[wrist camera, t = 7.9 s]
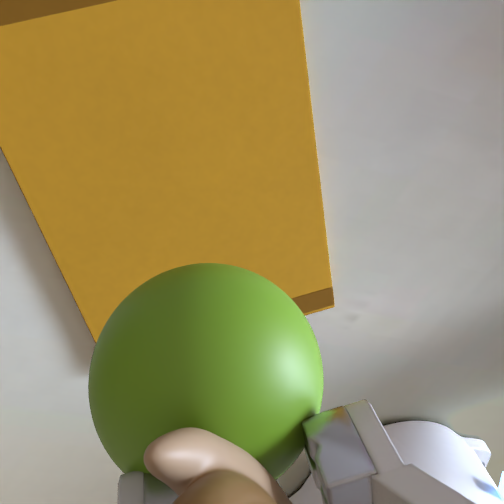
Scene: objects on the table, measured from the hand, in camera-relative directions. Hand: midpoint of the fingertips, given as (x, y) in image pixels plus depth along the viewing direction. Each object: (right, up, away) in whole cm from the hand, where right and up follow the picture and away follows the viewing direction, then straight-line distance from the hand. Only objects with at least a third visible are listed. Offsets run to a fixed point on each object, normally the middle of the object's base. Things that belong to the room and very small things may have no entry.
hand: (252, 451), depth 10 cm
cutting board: (-4, +8, +13) cm, 16 cm away
